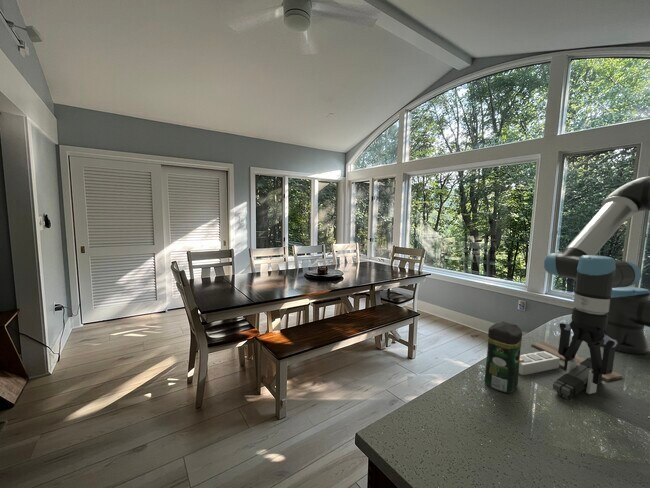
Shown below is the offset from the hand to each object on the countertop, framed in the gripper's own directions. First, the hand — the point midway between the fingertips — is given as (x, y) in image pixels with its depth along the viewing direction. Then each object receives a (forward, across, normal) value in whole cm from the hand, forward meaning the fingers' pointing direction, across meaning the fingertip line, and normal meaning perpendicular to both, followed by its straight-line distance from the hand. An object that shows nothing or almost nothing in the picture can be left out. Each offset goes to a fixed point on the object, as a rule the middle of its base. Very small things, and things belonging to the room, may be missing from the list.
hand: (580, 386), depth 84 cm
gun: (+1, 0, 0) cm, 1 cm away
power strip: (+1, -9, -1) cm, 9 cm away
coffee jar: (+1, -8, -21) cm, 22 cm away
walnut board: (+1, -12, +16) cm, 20 cm away
